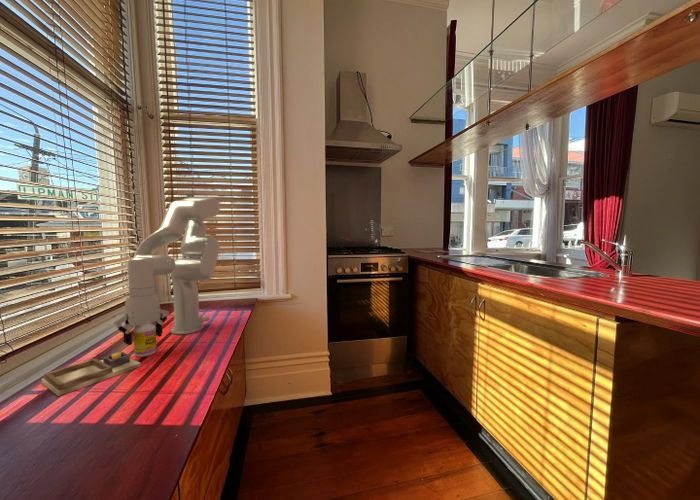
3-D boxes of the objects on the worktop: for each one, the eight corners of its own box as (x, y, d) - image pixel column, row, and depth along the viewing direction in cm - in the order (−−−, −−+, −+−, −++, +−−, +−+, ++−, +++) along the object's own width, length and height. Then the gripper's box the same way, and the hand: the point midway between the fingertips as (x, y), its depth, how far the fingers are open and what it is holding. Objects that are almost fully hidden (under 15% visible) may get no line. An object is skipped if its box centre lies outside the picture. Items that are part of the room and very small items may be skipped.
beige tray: (121, 357, 104) (121, 347, 104) (140, 366, 98) (140, 356, 97) (41, 383, 87) (40, 371, 87) (58, 396, 80) (57, 383, 80)
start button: (119, 359, 99) (118, 352, 99) (122, 361, 98) (122, 353, 98) (110, 362, 97) (110, 354, 97) (114, 364, 96) (113, 356, 95)
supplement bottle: (145, 358, 104) (143, 321, 103) (129, 356, 105) (127, 320, 104) (161, 350, 110) (159, 316, 109) (146, 348, 111) (144, 315, 110)
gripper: (162, 287, 115) (163, 331, 116) (108, 295, 100) (110, 345, 101) (173, 289, 111) (174, 334, 112) (118, 297, 96) (120, 350, 97)
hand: (143, 339), depth 107 cm, fingers open, 9 cm apart
